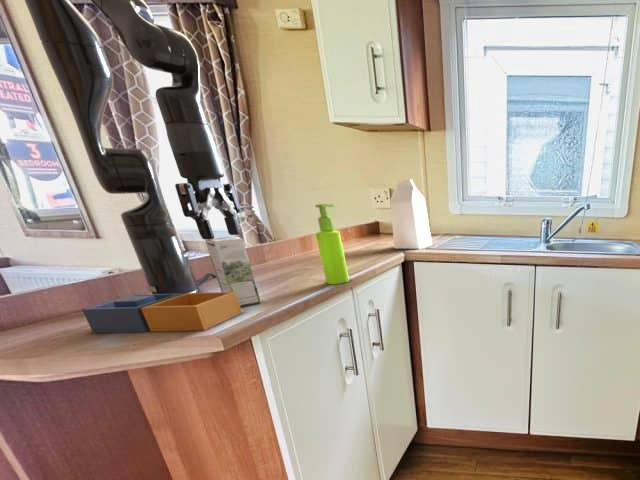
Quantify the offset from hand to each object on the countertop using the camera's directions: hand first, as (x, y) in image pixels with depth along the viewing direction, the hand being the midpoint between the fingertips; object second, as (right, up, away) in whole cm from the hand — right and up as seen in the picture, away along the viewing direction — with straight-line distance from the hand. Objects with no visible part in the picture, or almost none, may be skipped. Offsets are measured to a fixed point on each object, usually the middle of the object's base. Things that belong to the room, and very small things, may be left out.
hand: (222, 236), depth 91 cm
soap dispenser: (+14, -3, +27) cm, 31 cm away
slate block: (-12, -19, -6) cm, 23 cm away
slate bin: (-12, -19, -5) cm, 23 cm away
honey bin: (0, -19, -6) cm, 20 cm away
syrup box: (0, -13, +7) cm, 15 cm away
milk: (+20, +28, +92) cm, 98 cm away
